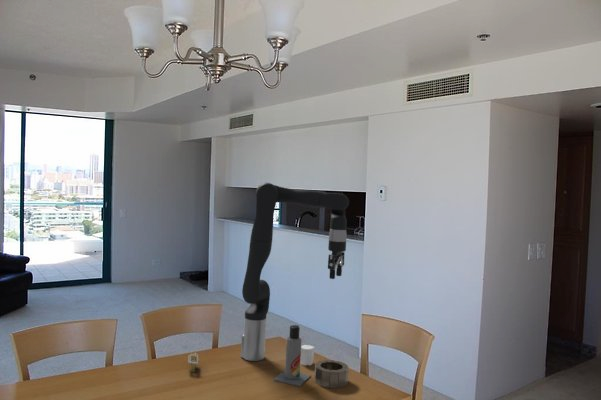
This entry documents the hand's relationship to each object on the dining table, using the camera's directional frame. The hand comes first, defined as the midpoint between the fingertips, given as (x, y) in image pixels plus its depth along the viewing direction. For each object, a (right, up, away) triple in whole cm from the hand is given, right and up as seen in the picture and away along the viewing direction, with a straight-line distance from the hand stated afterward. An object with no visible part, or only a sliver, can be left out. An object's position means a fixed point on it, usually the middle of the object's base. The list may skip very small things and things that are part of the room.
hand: (335, 277), depth 211 cm
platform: (-58, -34, -17) cm, 69 cm away
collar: (-3, -37, -22) cm, 43 cm away
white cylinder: (-13, -36, -4) cm, 38 cm away
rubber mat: (-18, -36, -21) cm, 45 cm away
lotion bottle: (-18, -35, -22) cm, 45 cm away
